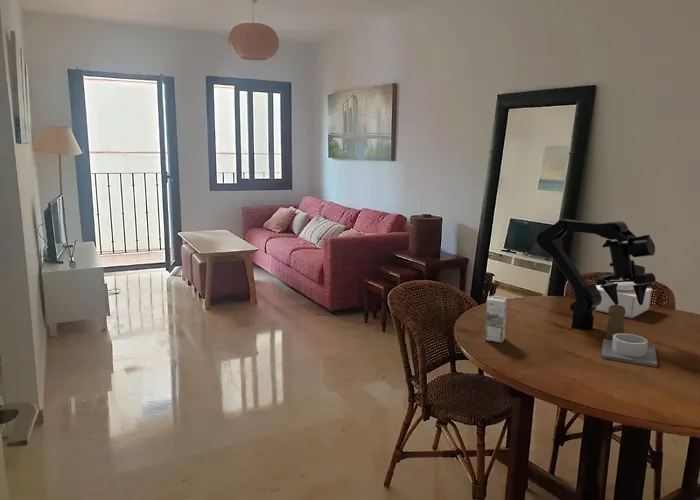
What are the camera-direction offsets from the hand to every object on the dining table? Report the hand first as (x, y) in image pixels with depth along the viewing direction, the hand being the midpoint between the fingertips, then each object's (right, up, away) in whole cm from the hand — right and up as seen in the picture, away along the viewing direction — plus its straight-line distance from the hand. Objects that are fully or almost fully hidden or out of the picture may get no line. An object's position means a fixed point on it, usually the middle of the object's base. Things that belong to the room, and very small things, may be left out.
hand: (628, 304), depth 180 cm
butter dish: (+14, -6, +36) cm, 40 cm away
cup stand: (-6, -14, -11) cm, 19 cm away
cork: (-3, -11, +4) cm, 12 cm away
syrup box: (-45, -12, 0) cm, 46 cm away
